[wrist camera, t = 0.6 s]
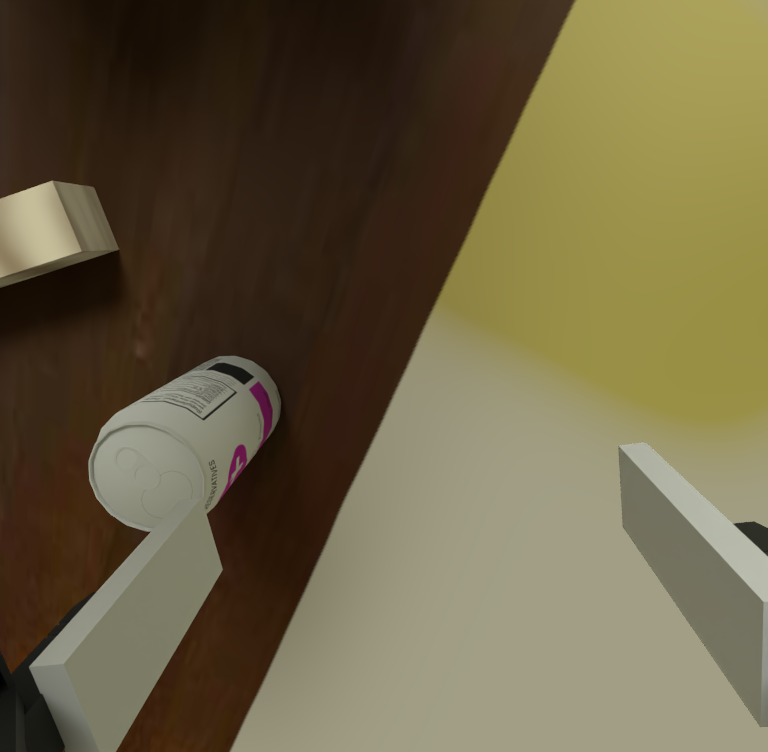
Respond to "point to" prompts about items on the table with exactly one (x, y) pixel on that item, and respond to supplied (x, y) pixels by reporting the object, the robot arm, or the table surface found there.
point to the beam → (51, 230)
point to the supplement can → (183, 441)
